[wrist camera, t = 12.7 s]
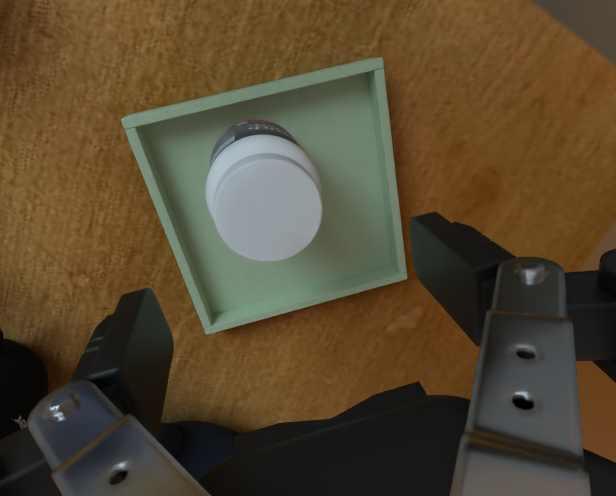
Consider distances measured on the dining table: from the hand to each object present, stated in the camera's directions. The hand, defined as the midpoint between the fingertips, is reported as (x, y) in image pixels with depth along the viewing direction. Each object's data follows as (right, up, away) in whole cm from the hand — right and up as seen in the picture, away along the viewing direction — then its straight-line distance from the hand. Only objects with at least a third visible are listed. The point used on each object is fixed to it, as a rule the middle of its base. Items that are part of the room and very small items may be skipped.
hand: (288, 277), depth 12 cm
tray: (-1, +4, +16) cm, 16 cm away
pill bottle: (-3, +6, +14) cm, 16 cm away
